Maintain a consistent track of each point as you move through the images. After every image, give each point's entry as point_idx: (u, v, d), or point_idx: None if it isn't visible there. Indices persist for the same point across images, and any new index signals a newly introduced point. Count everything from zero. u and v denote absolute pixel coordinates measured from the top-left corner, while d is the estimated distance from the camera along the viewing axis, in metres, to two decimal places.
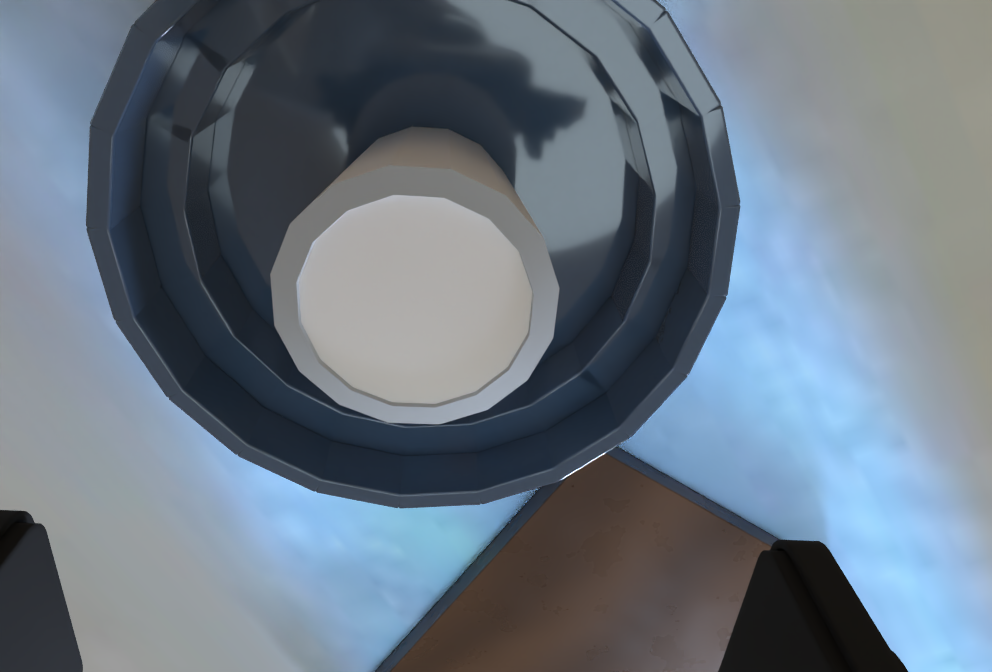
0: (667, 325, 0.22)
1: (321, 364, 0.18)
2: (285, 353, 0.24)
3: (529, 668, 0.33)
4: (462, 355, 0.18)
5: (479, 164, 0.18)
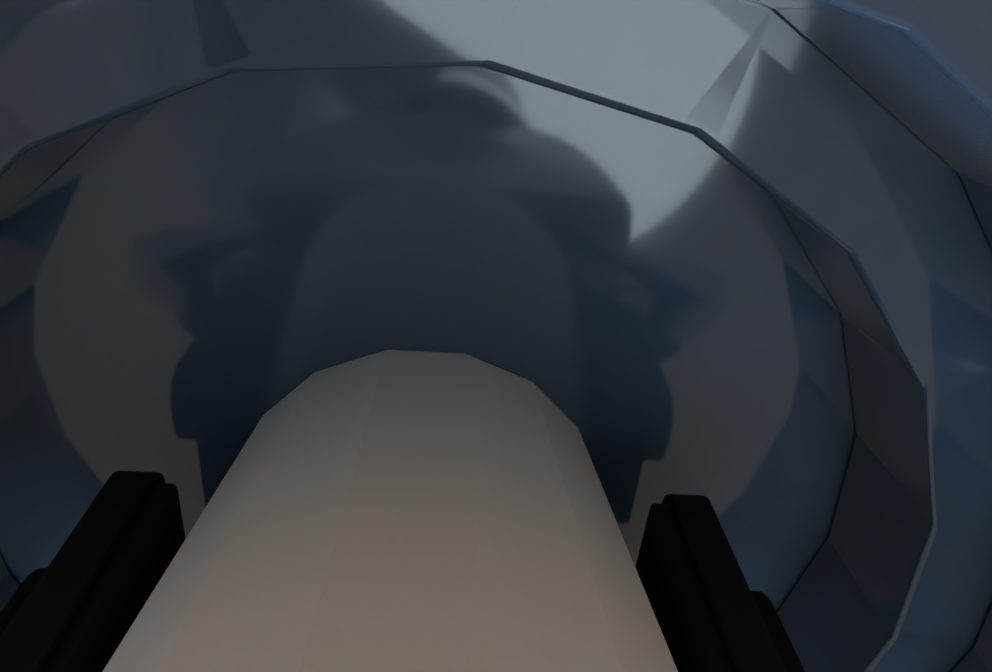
0: None
1: None
2: None
3: None
4: None
5: (558, 575, 0.07)
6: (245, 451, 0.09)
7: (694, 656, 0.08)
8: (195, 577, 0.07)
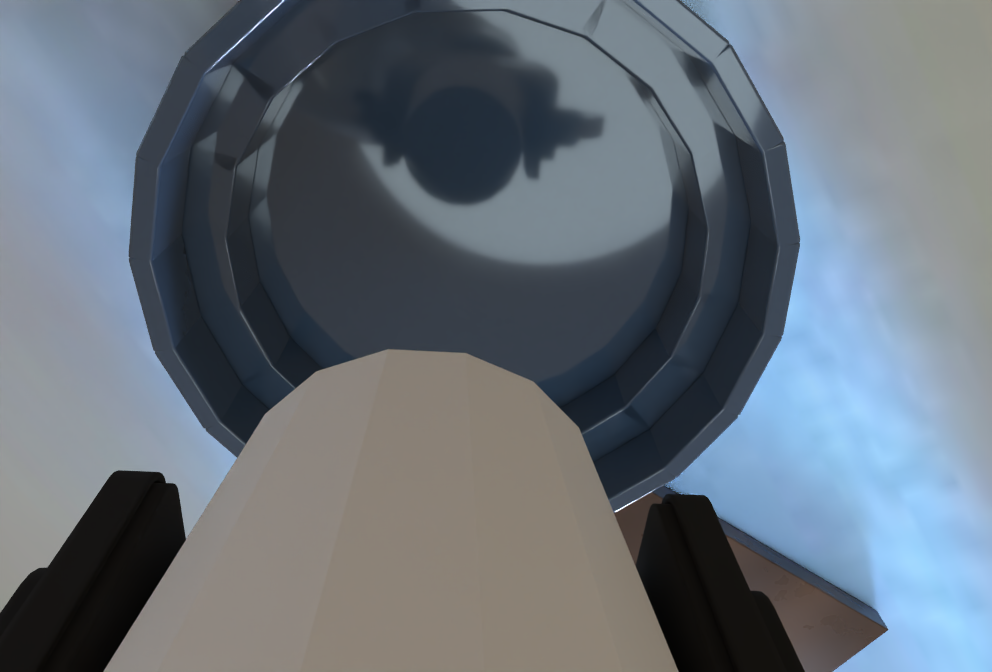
0: (717, 362, 0.22)
1: None
2: None
3: None
4: None
5: (558, 574, 0.07)
6: (247, 450, 0.09)
7: (694, 656, 0.08)
8: (197, 575, 0.07)
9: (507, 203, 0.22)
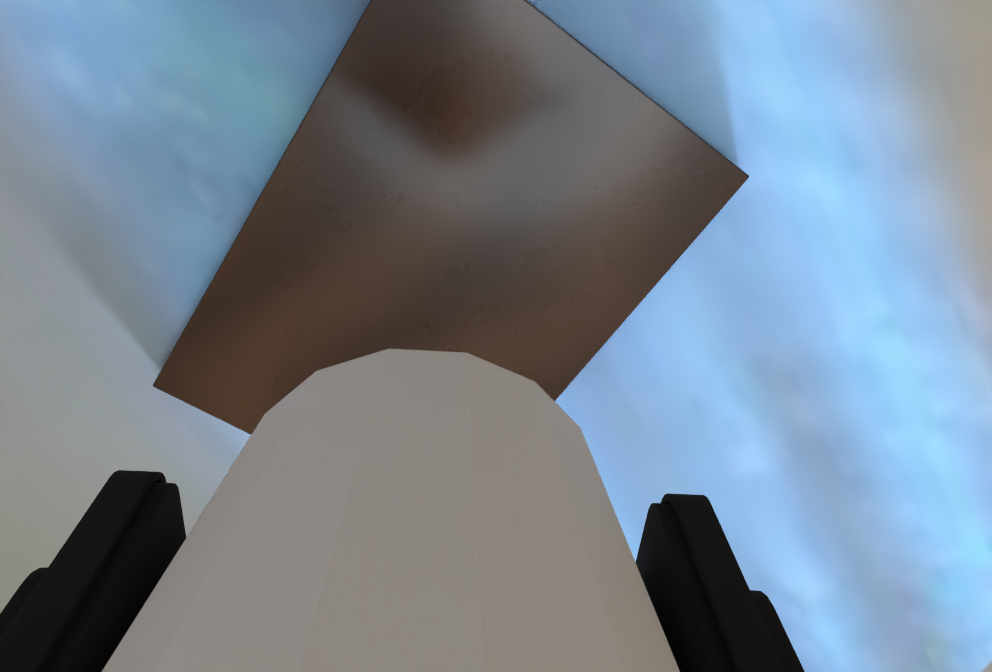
0: None
1: None
2: None
3: (375, 295, 0.27)
4: None
5: (560, 575, 0.06)
6: (246, 450, 0.09)
7: (693, 656, 0.08)
8: (195, 576, 0.07)
9: None
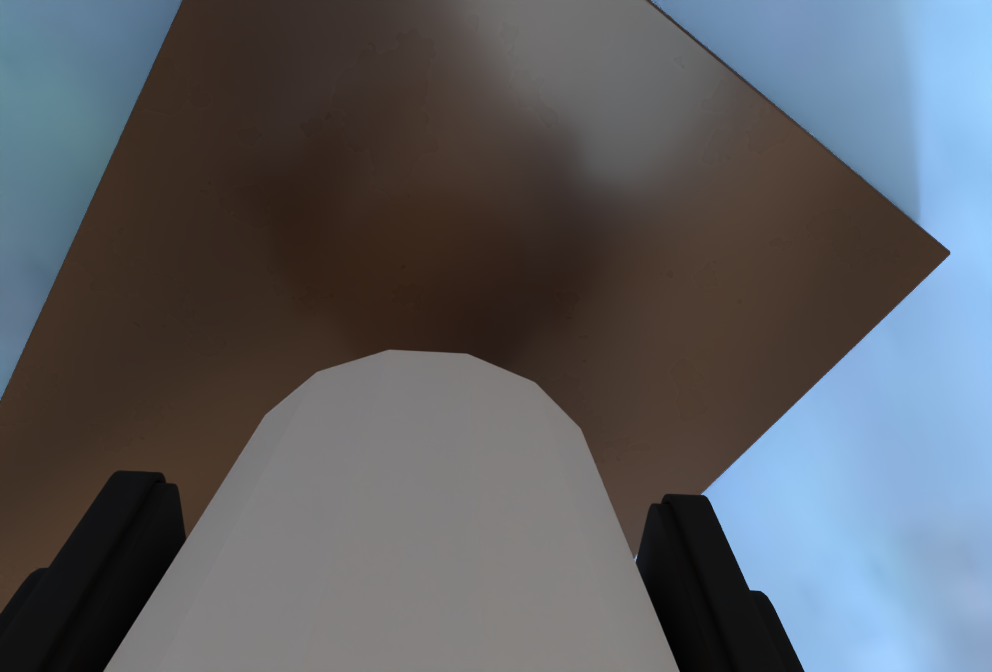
0: None
1: None
2: None
3: None
4: None
5: (560, 577, 0.06)
6: (247, 451, 0.09)
7: (693, 656, 0.08)
8: (196, 577, 0.07)
9: None
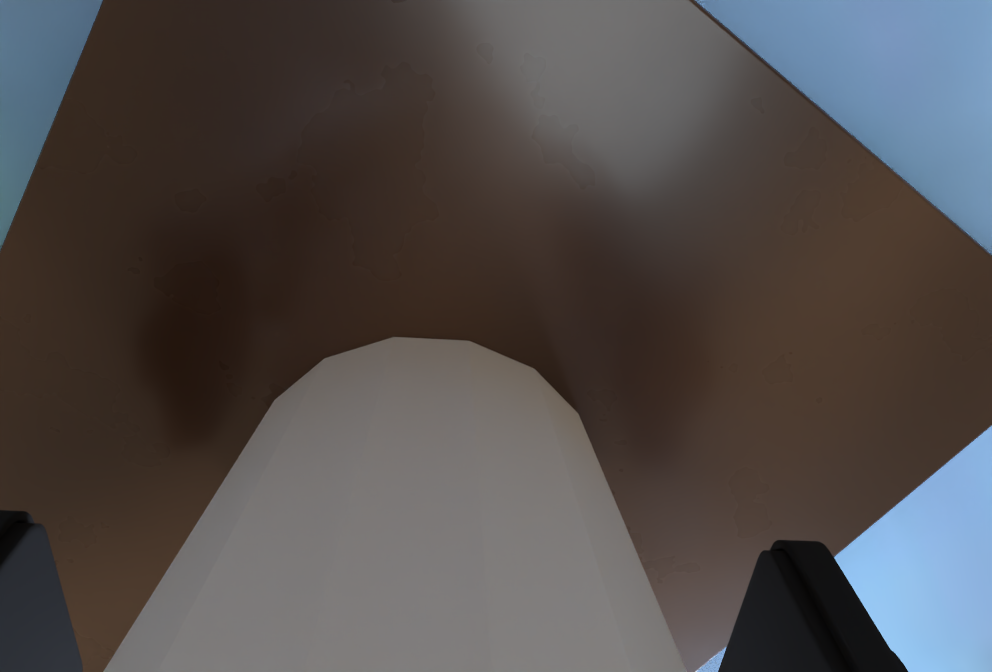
0: None
1: None
2: None
3: None
4: None
5: (558, 543, 0.07)
6: (258, 433, 0.10)
7: None
8: (214, 545, 0.07)
9: None
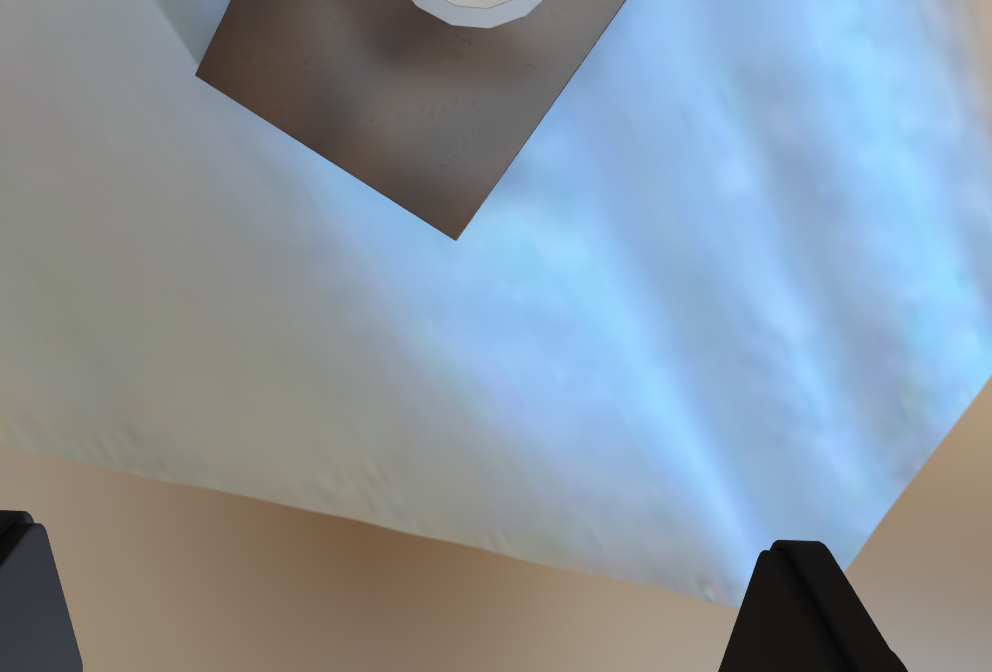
0: None
1: None
2: None
3: None
4: None
5: None
6: None
7: None
8: None
9: None
